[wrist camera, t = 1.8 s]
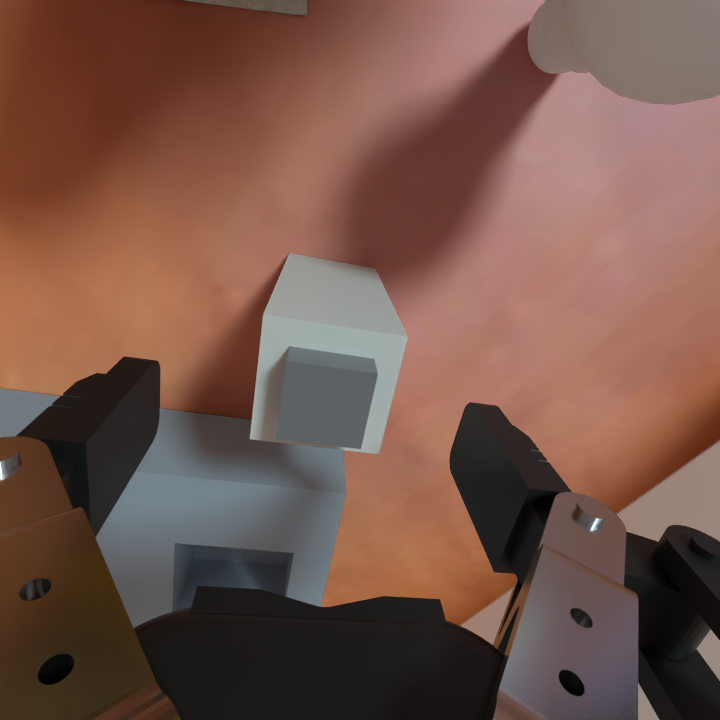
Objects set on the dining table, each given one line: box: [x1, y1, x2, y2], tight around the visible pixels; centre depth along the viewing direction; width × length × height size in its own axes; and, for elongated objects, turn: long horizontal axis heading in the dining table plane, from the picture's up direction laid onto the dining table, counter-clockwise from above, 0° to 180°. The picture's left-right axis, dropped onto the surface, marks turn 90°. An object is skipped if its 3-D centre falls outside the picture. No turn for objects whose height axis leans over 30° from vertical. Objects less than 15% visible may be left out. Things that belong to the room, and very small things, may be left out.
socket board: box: [0, 389, 346, 628], centre depth 23 cm, size 18×13×5 cm
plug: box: [250, 253, 408, 454], centre depth 16 cm, size 4×4×10 cm
